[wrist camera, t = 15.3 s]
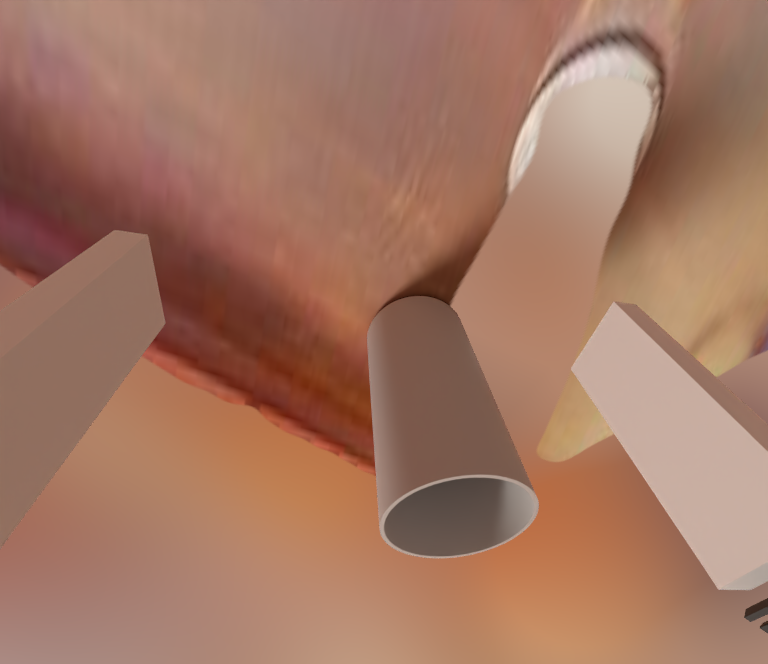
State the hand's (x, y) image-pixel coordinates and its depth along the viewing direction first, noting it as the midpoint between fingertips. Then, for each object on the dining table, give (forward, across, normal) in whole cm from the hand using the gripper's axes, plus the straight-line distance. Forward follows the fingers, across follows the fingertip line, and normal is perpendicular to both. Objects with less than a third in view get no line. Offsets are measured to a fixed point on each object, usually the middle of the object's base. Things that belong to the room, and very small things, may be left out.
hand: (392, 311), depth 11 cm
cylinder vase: (+30, +9, -22) cm, 39 cm away
